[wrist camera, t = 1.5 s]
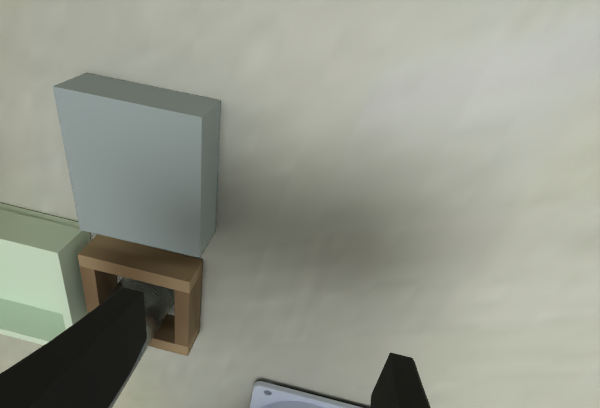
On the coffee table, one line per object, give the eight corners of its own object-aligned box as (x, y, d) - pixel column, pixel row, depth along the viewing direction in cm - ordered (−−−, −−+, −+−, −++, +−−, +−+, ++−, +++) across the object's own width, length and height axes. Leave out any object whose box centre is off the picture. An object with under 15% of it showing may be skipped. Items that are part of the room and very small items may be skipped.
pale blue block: (223, 97, 17) (202, 117, 15) (217, 227, 21) (199, 257, 19) (91, 70, 18) (53, 86, 16) (109, 203, 21) (80, 230, 19)
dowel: (178, 272, 23) (108, 382, 17) (178, 310, 24) (114, 423, 19) (124, 258, 23) (36, 363, 17) (127, 298, 25) (49, 405, 19)
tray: (88, 224, 22) (57, 252, 20) (102, 322, 26) (78, 354, 24) (-49, 191, 22) (-93, 215, 20) (-12, 292, 27) (-46, 321, 25)
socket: (202, 259, 22) (189, 282, 20) (199, 331, 25) (187, 355, 24) (98, 233, 22) (77, 254, 21) (108, 308, 25) (90, 330, 24)
